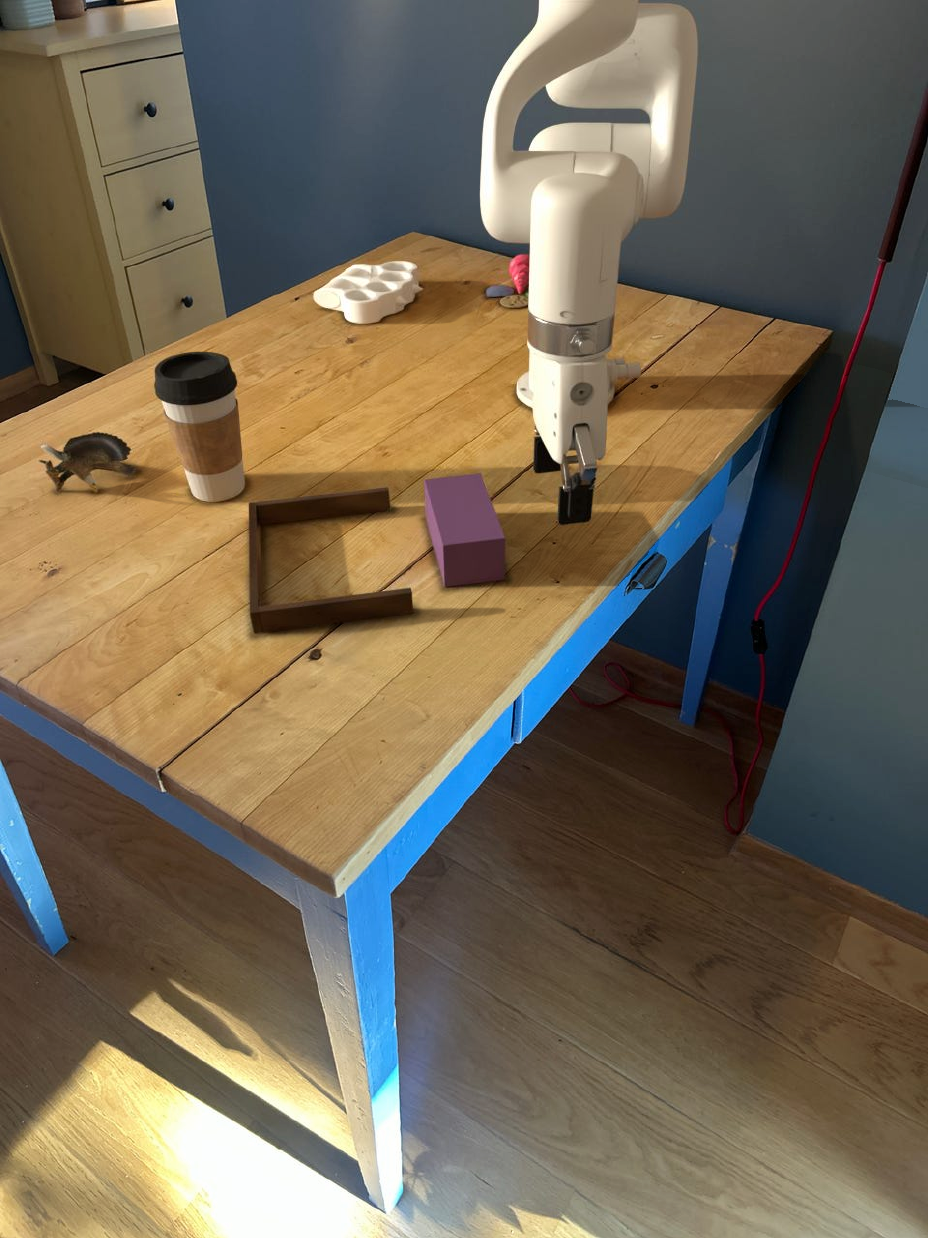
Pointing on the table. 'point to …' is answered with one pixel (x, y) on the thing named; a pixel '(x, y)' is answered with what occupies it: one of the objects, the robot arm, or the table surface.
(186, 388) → the coffee cup
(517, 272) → the toy pieces
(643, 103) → the robot arm
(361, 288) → the white paint palette
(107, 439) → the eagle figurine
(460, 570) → the plum block
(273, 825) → the table surface
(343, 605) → the walnut bay
